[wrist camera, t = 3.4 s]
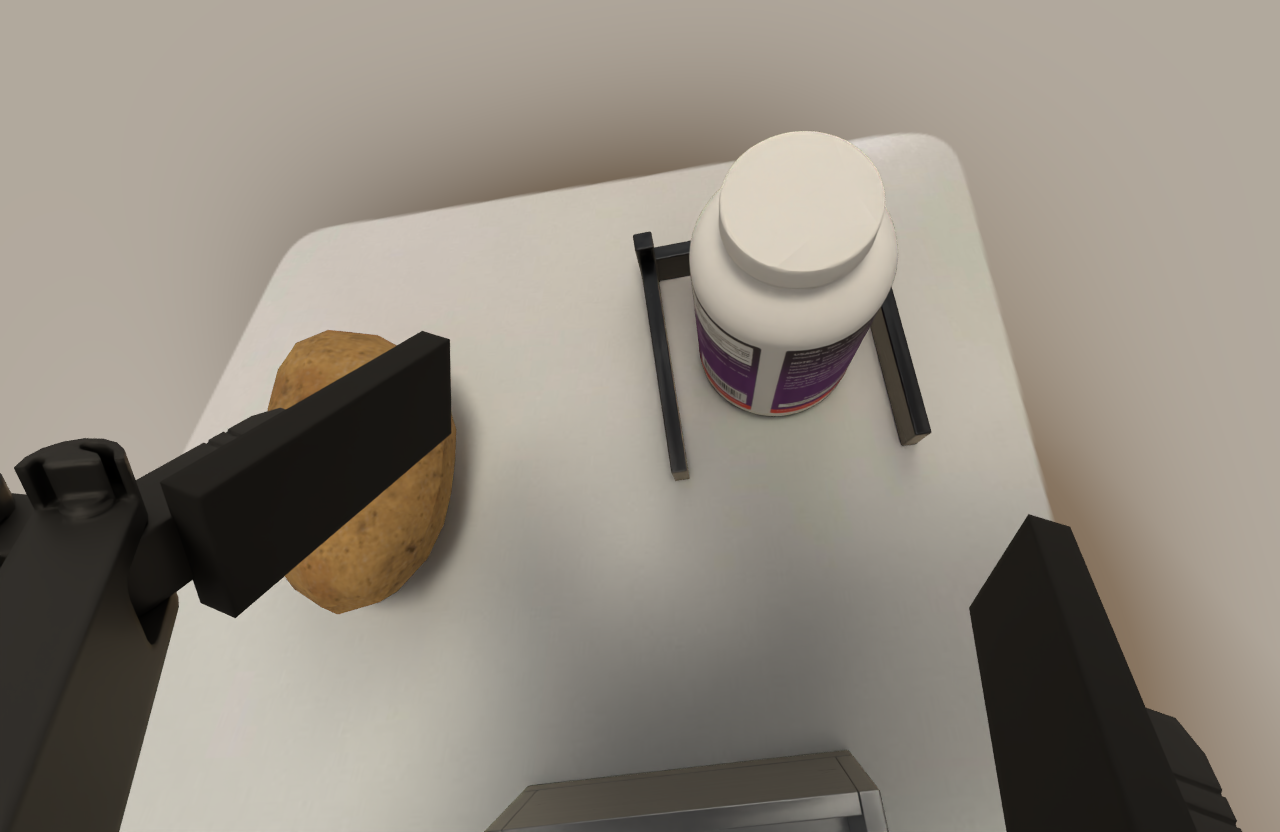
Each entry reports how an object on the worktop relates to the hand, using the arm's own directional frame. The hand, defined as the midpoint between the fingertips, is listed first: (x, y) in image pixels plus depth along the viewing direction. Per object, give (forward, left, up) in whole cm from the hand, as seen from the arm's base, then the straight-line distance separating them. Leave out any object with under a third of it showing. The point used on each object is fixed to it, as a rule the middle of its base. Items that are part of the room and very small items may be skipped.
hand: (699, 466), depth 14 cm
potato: (+17, -5, -19) cm, 26 cm away
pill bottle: (-5, -9, -19) cm, 22 cm away
